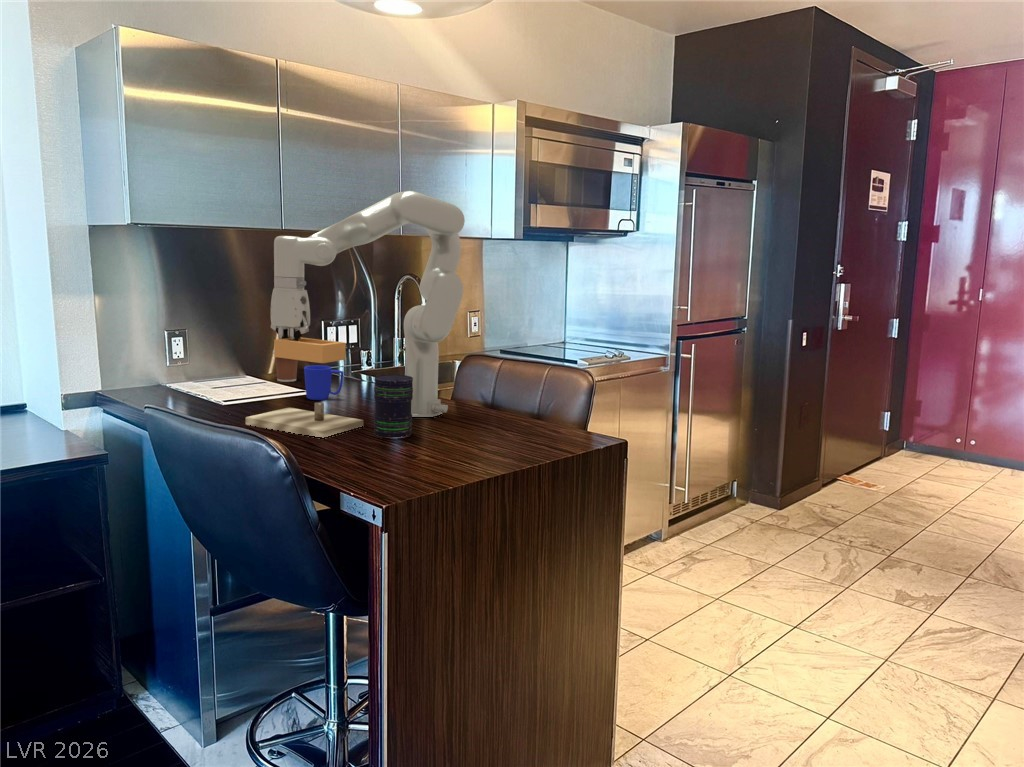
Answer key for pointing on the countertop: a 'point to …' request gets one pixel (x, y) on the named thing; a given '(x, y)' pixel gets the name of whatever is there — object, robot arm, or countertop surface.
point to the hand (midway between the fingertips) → (289, 353)
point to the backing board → (303, 422)
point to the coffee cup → (286, 369)
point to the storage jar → (393, 405)
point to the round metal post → (319, 411)
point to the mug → (319, 381)
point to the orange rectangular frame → (310, 350)
